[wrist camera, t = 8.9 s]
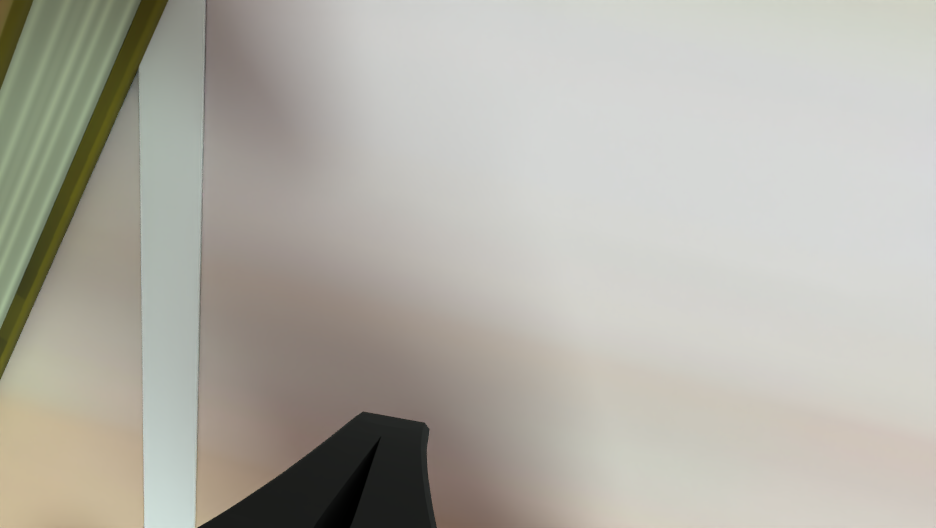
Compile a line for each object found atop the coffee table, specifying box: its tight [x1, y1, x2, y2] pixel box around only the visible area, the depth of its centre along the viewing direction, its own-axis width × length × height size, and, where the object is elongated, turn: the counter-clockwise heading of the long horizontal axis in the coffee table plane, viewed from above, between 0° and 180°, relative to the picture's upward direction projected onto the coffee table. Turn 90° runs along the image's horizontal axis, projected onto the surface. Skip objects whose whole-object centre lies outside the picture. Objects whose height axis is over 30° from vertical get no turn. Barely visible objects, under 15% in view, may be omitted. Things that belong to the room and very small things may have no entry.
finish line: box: [139, 0, 206, 528], centre depth 14 cm, size 36×3×4 cm, turn 171°
